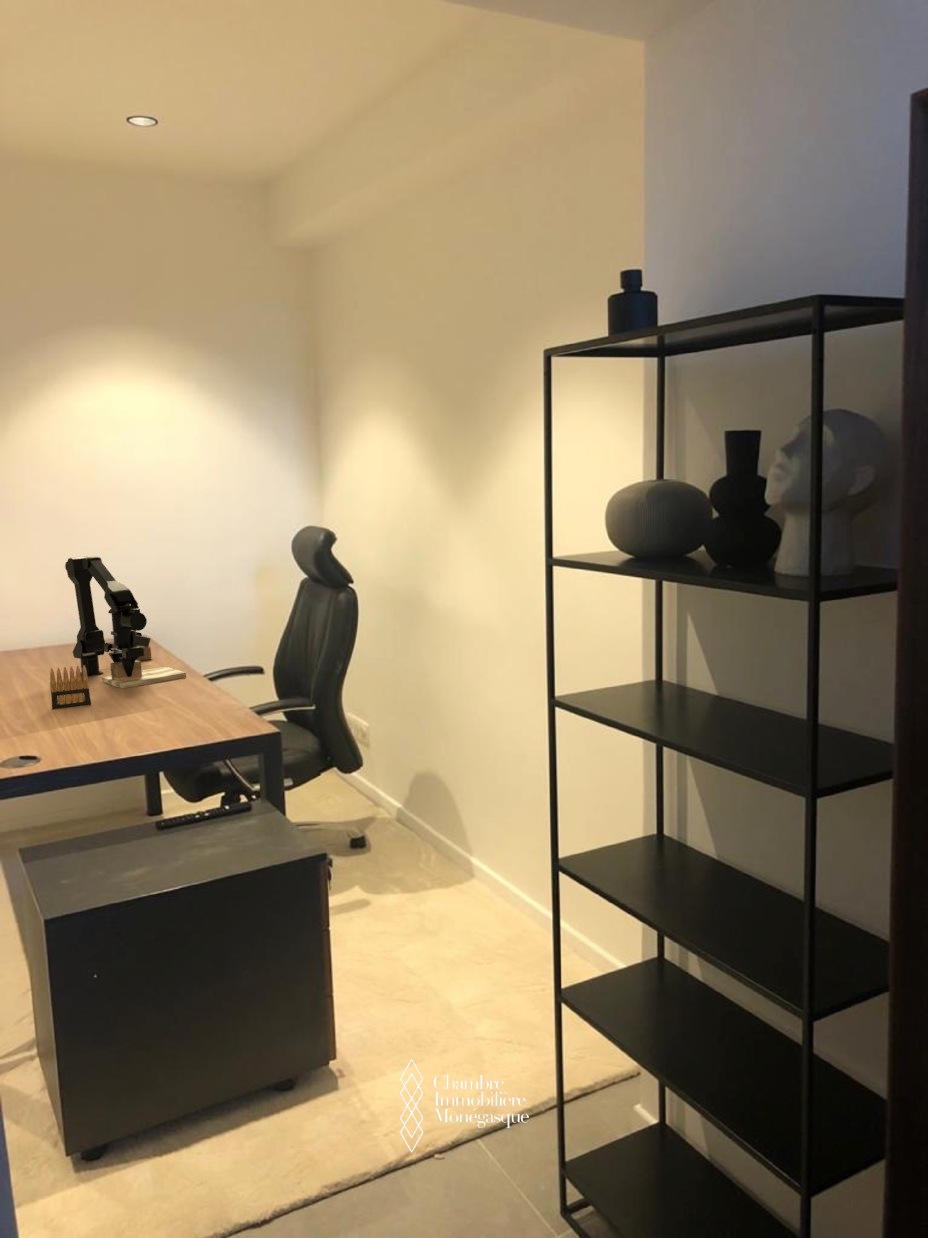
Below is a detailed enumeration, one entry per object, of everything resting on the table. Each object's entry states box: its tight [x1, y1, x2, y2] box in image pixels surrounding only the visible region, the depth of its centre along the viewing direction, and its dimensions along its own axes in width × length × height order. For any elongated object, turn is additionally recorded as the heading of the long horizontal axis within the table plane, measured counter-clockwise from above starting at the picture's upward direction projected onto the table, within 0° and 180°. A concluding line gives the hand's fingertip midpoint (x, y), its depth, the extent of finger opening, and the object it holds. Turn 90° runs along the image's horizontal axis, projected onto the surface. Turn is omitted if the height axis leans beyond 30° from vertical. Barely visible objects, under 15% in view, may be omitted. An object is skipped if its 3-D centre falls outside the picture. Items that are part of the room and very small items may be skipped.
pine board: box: [101, 666, 187, 689], centre depth 332 cm, size 15×22×2 cm
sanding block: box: [109, 660, 143, 681], centre depth 328 cm, size 5×8×5 cm, turn 131°
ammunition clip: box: [49, 665, 92, 711], centre depth 296 cm, size 11×2×12 cm, turn 113°
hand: (126, 675), depth 328 cm, fingers closed on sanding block, 5 cm apart
